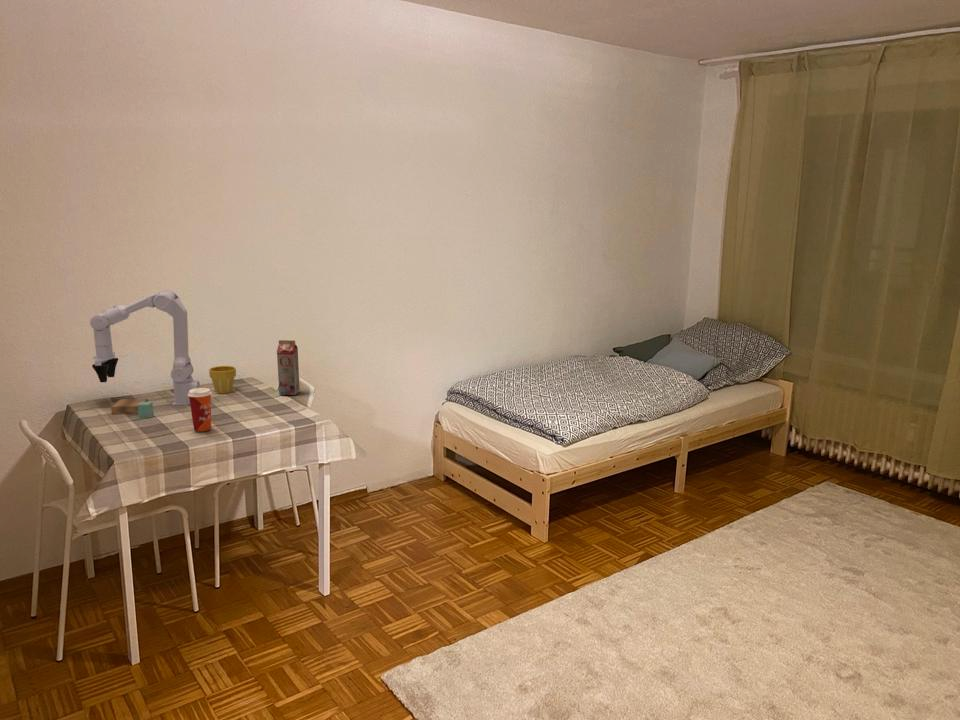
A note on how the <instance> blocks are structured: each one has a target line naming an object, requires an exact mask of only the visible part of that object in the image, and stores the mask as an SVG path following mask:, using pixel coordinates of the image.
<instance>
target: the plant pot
mask: <svg viewBox="0 0 960 720" xmlns="http://www.w3.org/2000/svg"><path fill="white" fill-rule="evenodd" d="M208 371H209V372H208V373H209V378H210V379H211V381H212V385H213V389H214V392H215V393H216V394H228V393H231V392H233V388H234V381H235V377H237V376H236V375H237V369H236V367H235V366H231V365H217V366H214V367H210V368H209V370H208Z"/></svg>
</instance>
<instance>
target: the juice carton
mask: <svg viewBox="0 0 960 720" xmlns="http://www.w3.org/2000/svg"><path fill="white" fill-rule="evenodd" d="M276 358H277V362H276V363H277V379H278V393H279V396H281V395H282V396H284V395H285V396H289V395H290V396H296V395H297V394H298V393H299V392H300V390H301V389H300V388H301V387H300V372H299V370H300V369H299V349H298V346H297V345H296V340H287V339H286V340H285V339H284V340H283V339H282V340H279V339H278V346H277V348H276Z"/></svg>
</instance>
